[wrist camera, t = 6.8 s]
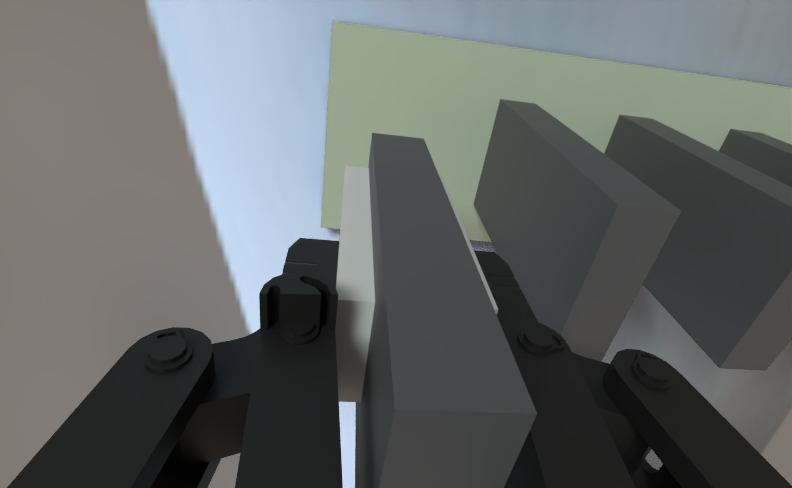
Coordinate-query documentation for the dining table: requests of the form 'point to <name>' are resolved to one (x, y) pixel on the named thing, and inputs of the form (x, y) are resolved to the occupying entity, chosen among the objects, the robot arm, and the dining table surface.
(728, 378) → the dining table surface
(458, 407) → the domino
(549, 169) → the domino
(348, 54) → the strip
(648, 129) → the domino
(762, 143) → the domino
